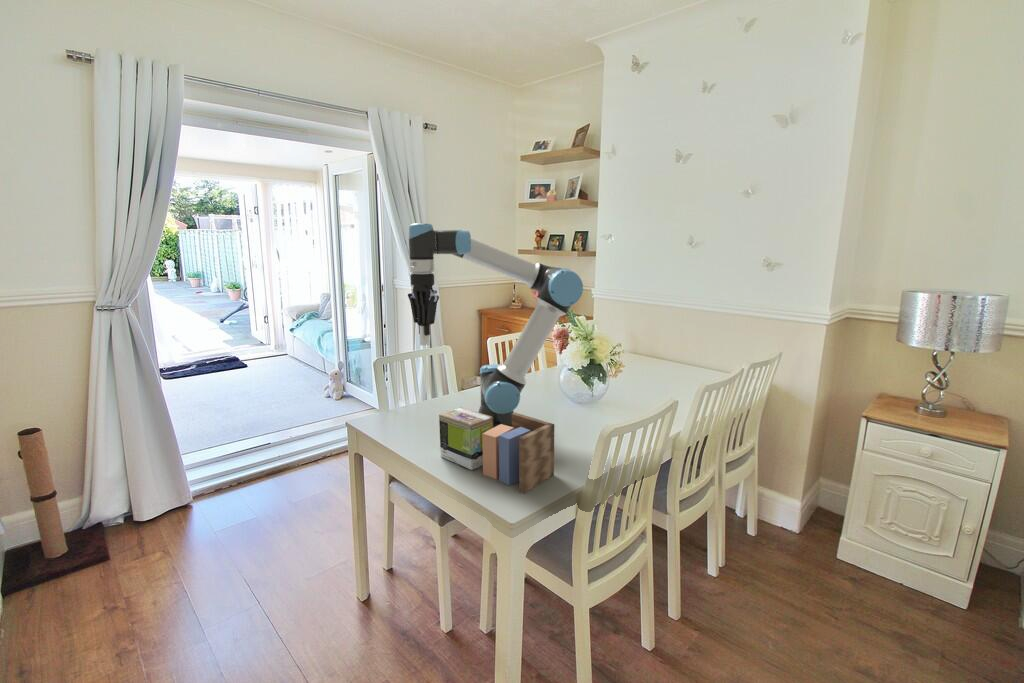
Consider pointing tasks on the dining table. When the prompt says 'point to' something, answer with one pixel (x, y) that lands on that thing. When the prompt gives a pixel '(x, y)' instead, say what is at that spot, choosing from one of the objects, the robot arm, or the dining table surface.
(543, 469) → the shelf
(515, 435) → the blue book
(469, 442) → the tea box
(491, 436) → the rust book
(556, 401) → the dining table surface
